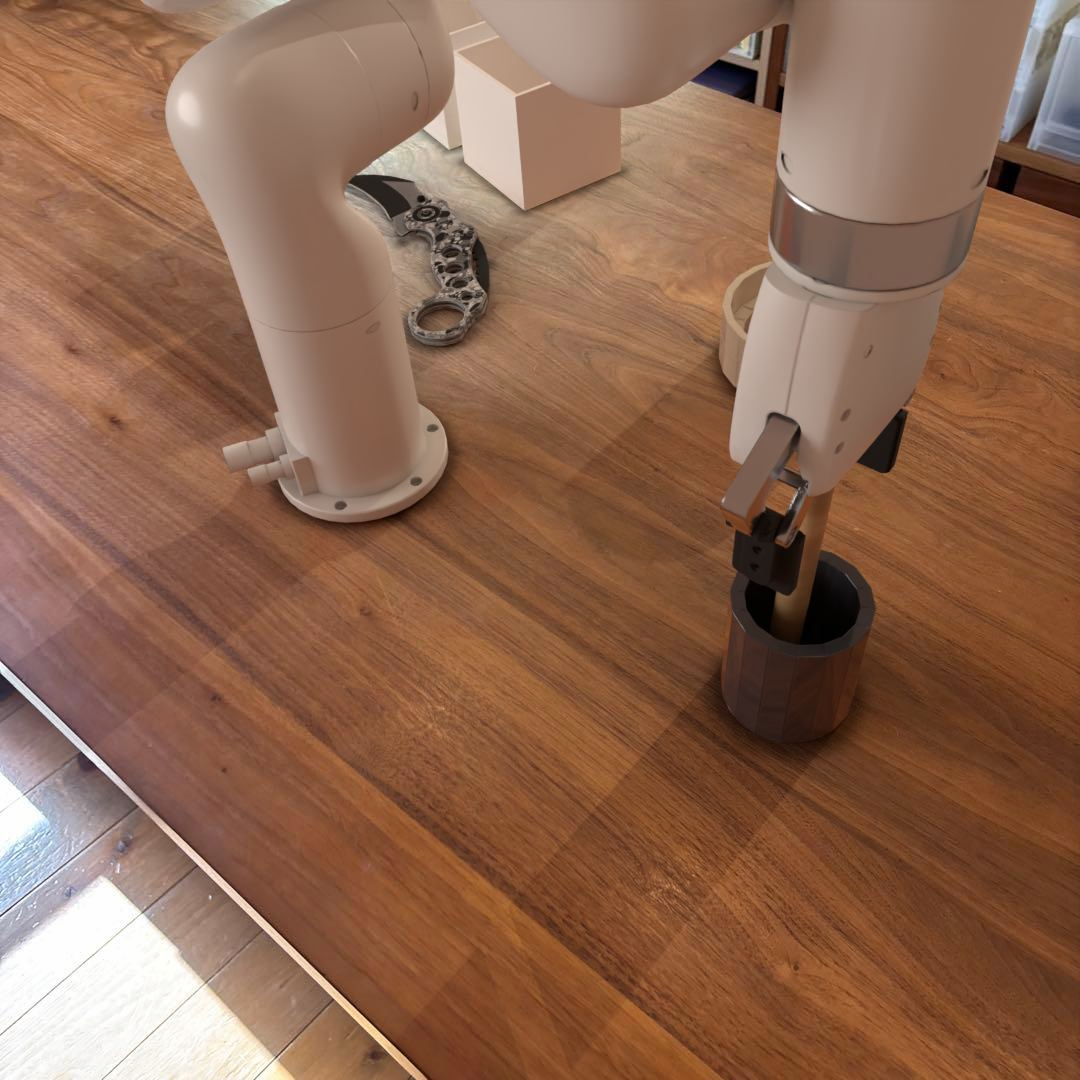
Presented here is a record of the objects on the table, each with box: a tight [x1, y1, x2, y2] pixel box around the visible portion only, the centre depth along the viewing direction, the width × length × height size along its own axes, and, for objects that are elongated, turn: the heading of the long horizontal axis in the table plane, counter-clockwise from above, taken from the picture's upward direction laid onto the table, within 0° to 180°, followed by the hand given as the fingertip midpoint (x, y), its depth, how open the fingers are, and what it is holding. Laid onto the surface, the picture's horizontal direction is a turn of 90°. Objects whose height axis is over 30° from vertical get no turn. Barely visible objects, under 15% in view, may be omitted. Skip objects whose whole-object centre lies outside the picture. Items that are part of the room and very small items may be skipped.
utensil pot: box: [720, 549, 877, 744], centre depth 63 cm, size 8×8×9 cm
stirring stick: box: [769, 468, 835, 645], centre depth 59 cm, size 2×2×18 cm
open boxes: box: [422, 0, 622, 212], centre depth 107 cm, size 25×11×11 cm, turn 33°
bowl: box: [718, 260, 773, 389], centre depth 84 cm, size 12×12×6 cm
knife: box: [347, 174, 491, 347], centre depth 99 cm, size 28×2×10 cm
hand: (815, 516), depth 55 cm, fingers open, 9 cm apart
